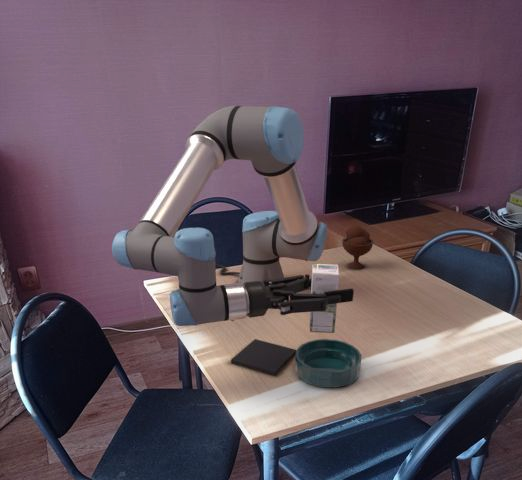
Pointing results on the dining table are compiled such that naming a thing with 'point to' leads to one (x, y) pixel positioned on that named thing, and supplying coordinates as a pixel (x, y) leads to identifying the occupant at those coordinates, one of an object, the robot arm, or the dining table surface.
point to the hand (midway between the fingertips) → (344, 287)
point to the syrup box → (323, 281)
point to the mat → (264, 357)
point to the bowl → (328, 363)
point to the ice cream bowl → (357, 244)
